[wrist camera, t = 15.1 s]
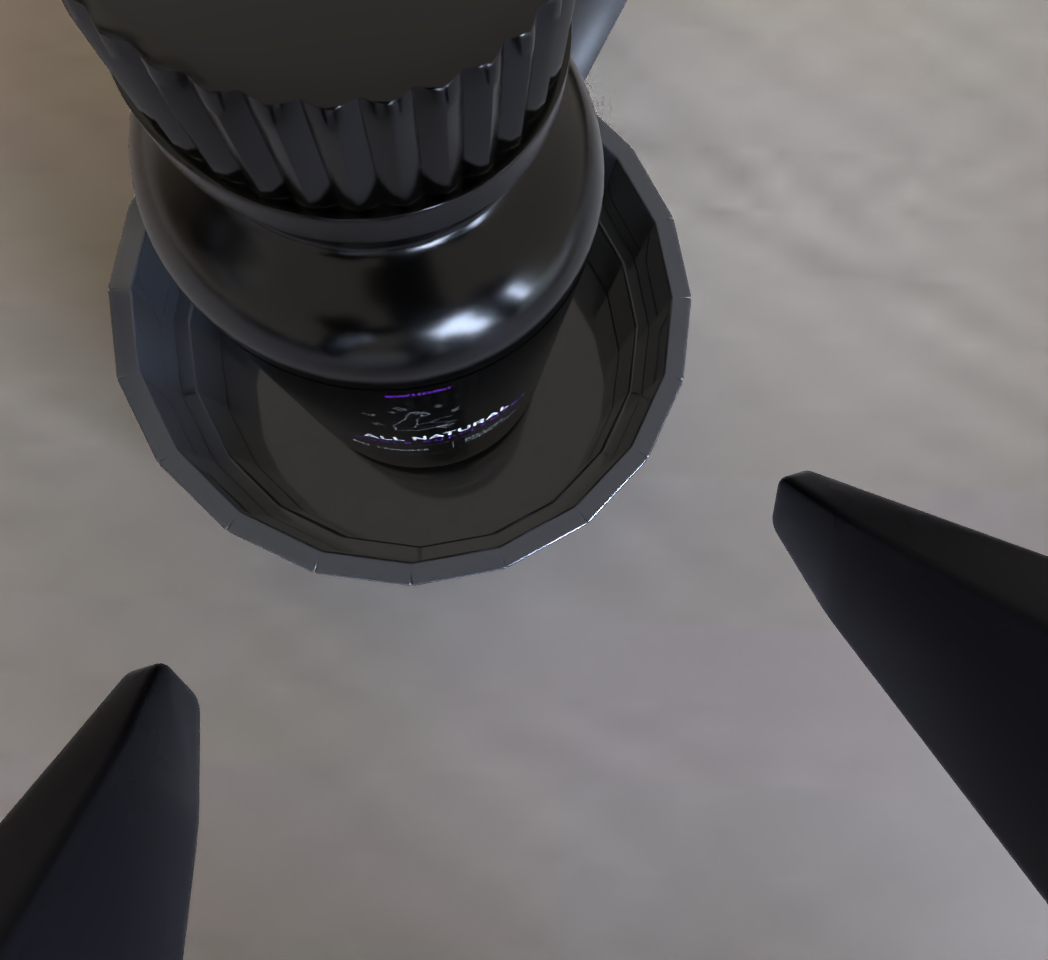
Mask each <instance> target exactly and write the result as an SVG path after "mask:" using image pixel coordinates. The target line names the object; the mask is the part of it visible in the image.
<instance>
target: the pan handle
mask: <svg viewBox="0 0 1048 960" xmlns="http://www.w3.org/2000/svg"><path fill="white" fill-rule="evenodd" d="M626 1H627V0H575V4H574V9H573V14H572V48H571V55H572V57H573V59H574V61H575V63H576V65H577V67H578V69H579V71H580V73H581V75H582V77H583V79H584V80H585V78H586V77H587V75H588V73H589V71H590V69H591V67H592V65H593V63H594V61H595V60H596V58H597V56H598V54H599V52H600V50H601V48H602V46H603V45H604V43H605V41H606V39H607V37H608V35H609V33H610V31H611V30H612V28H613V26H614V24H615V22H616V20H617V18H618V16H619V14H620V13H621V11H622V9H623V7H624V5H625V3H626Z"/></svg>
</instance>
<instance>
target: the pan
mask: <svg viewBox="0 0 1048 960" xmlns="http://www.w3.org/2000/svg"><path fill="white" fill-rule="evenodd" d="M596 116H597V115H596ZM597 120H598V124H599V129H600V135H601V140H602V145H603V156H604V195H603V203H602V210H601V215H600V219H599V223H598V227H597V232H596V235H595V239H594V242H593V245H592V249H591V252H590V254H589V257H588V260H587V263H586V266H585V268H584V271H583V273H582V276H581V278H580V281H579V283H578V286H577V288H576V291H575V293H574V296H573V298H572V301H571V303H570V306H569V308H568V311H567V313H566V316H565V318H564V321H563V323H562V326H561V328H560V331H559V333H558V335H557V338H556V340H555V343H554V345H553V348H552V350H551V353H550V355H549V358H548V360H547V363H546V365H545V368H544V370H543V373H542V375H541V378H540V380H539V382H538V385H537V387H536V389H535V391H534V393H533V395H532V398H531V400H530V402H529V404H528V406H527V407H526V409H525V411H524V412H523V414H522V415H521V417H520V418H519V419H518V421H517V422H516V423H515V424H514V426H513V427H512V428H511V429H510V430H509V431H508V432H507V433H506V434H505V435H504V436H503V437H502V438H501V439H499V440H498V441H497V442H496V443H494V444H493V445H492V446H490V447H489V448H487V449H486V450H484V451H482V452H480V453H479V454H477V455H475V456H472V457H470V458H468V459H465V460H463V461H460V462H457V463H453V464H449V465H445V466H438V467H431V468H411V467H402V466H395V465H391V464H387V463H383V462H380V461H377V460H375V459H372V458H370V457H367V456H365V455H363V454H361V453H359V452H357V451H355V450H354V449H352V448H350V447H349V446H347V445H346V444H344V443H343V442H342V441H340V440H339V439H338V438H336V437H335V436H334V435H333V434H332V433H330V432H329V431H328V430H327V429H326V428H325V427H324V426H322V425H321V424H320V423H319V422H318V421H317V420H316V419H315V418H314V417H313V416H311V415H310V414H309V413H308V412H307V411H306V410H305V409H304V408H303V407H302V406H301V405H299V404H298V403H297V402H296V401H295V400H294V399H293V398H292V397H291V396H290V395H289V394H287V393H286V392H285V391H284V390H283V389H282V388H281V387H280V386H279V385H278V384H277V383H275V382H274V381H273V380H272V379H271V378H270V377H269V376H268V375H267V374H266V373H265V372H263V371H262V370H261V369H260V368H259V367H258V366H257V365H256V364H255V363H254V362H253V361H251V360H250V359H249V358H248V357H247V356H246V355H245V354H244V353H243V352H242V351H241V350H239V349H238V348H237V347H236V346H235V345H234V344H233V343H232V342H231V341H230V340H229V339H228V338H226V337H225V336H224V335H223V334H222V333H221V332H220V331H219V330H218V329H217V328H216V327H214V326H213V325H212V324H211V323H210V322H209V321H208V320H207V319H206V317H205V316H204V315H203V314H202V313H201V312H200V311H199V310H198V309H197V307H196V306H195V305H194V304H193V303H192V302H191V301H190V300H189V299H188V297H187V296H186V295H185V294H184V293H183V292H182V291H181V289H180V288H179V287H178V285H177V284H176V283H175V281H174V280H173V278H172V277H171V276H170V274H169V273H168V272H167V270H166V268H165V267H164V265H163V263H162V261H161V260H160V258H159V256H158V254H157V253H156V251H155V249H154V247H153V245H152V243H151V240H150V238H149V236H148V233H147V231H146V229H145V227H144V224H143V221H142V218H141V215H140V212H139V208H138V205H137V202H136V198H135V196H134V198H133V200H132V201H131V204H130V205H129V208H128V212H127V216H126V220H125V224H124V228H123V232H122V236H121V240H120V244H119V248H118V252H117V256H116V260H115V264H114V268H113V272H112V276H111V279H110V283H109V289H110V290H109V291H108V293H109V302H110V312H111V322H112V332H113V342H114V352H115V362H116V372H117V378H118V382H119V384H120V386H121V388H122V390H123V392H124V394H125V396H126V398H127V400H128V402H129V404H130V407H131V409H132V411H133V413H134V415H135V417H136V419H137V421H138V423H139V425H140V427H141V429H142V431H143V433H144V435H145V438H146V440H147V442H148V444H149V446H150V448H151V450H152V452H153V454H154V456H155V458H156V460H157V462H159V464H160V466H161V467H162V468H163V469H164V470H165V471H166V472H167V473H168V474H169V475H170V476H171V477H172V478H173V479H174V480H175V481H176V482H177V483H179V484H180V485H181V486H182V487H183V488H184V489H185V490H186V491H187V492H188V493H189V494H190V495H191V496H192V497H193V498H194V499H195V500H196V501H197V502H198V503H199V504H200V505H201V506H202V507H203V508H204V509H205V510H206V511H207V512H208V513H209V514H210V515H211V516H212V517H213V518H214V519H215V520H216V521H217V522H218V523H219V524H220V525H221V526H222V527H223V528H224V529H226V530H228V531H229V532H230V533H232V534H234V535H236V536H238V537H240V538H242V539H244V540H246V541H249V542H251V543H253V544H255V545H257V546H259V547H261V548H263V549H265V550H267V551H269V552H271V553H273V554H275V555H278V556H280V557H282V558H284V559H286V560H288V561H290V562H292V563H294V564H296V565H298V566H300V567H302V568H304V569H307V570H309V571H311V572H316V573H317V574H323V575H331V576H339V577H346V578H354V579H362V580H369V581H377V582H384V583H392V584H400V585H407V586H409V585H414V586H415V585H420V584H425V583H431V582H436V581H442V580H447V579H452V578H458V577H463V576H468V575H474V574H479V573H485V572H490V571H495V570H501V569H504V568H505V567H510V566H512V565H513V564H515V563H517V562H519V561H521V560H523V559H524V558H526V557H528V556H530V555H532V554H534V553H535V552H537V551H539V550H541V549H543V548H545V547H546V546H548V545H550V544H552V543H554V542H556V541H557V540H559V539H561V538H563V537H565V536H566V535H568V534H570V533H572V532H574V531H576V530H577V529H579V528H581V527H583V526H585V525H586V523H588V522H590V521H591V520H592V519H593V518H594V517H595V515H596V514H597V513H598V512H599V511H600V510H601V509H602V508H603V507H604V506H605V505H606V504H607V503H608V502H609V500H610V499H611V498H612V497H613V496H614V495H615V494H616V493H617V492H618V491H619V490H620V489H621V488H622V486H623V485H624V484H625V483H626V482H627V481H628V480H629V479H630V478H631V477H632V476H633V475H634V474H635V472H636V471H637V470H638V469H639V468H640V467H641V466H642V465H643V464H644V463H645V462H646V460H647V458H648V457H649V456H650V454H651V452H652V449H653V447H654V445H655V443H656V440H657V438H658V436H659V434H660V432H661V429H662V427H663V425H664V423H665V420H666V418H667V416H668V414H669V412H670V409H671V407H672V405H673V403H674V401H675V398H676V396H677V394H678V392H679V389H680V387H681V385H682V380H683V379H684V368H685V358H686V348H687V338H688V327H689V317H690V307H691V299H690V298H691V294H690V290H689V285H688V281H687V276H686V272H685V268H684V263H683V259H682V254H681V250H680V245H679V241H678V237H677V232H676V228H675V223H674V220H673V219H672V215H671V214H670V212H669V210H668V208H667V207H666V205H665V203H664V202H663V200H662V198H661V196H660V195H659V193H658V191H657V190H656V188H655V186H654V184H653V183H652V181H651V179H650V178H649V176H648V174H647V173H646V171H645V169H644V167H643V166H642V164H641V162H640V161H639V159H638V157H637V155H636V154H635V152H634V150H633V149H631V147H630V145H629V144H627V143H626V142H625V141H624V140H623V139H622V138H621V137H620V136H619V135H618V134H617V133H616V132H614V131H613V130H612V129H611V128H610V127H609V126H608V125H607V124H606V123H605V122H604V121H603V120H602V119H600V118H599V117H598V116H597Z"/></svg>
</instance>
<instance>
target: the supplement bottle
mask: <svg viewBox="0 0 1048 960" xmlns="http://www.w3.org/2000/svg"><path fill="white" fill-rule="evenodd" d="M62 2H63V4H64V6H65V8H66V9H67V11H68V13H69V15H70V16H71V18H72V19H73V21H74V22H75V24H76V25H77V26H78V28H79V29H80V31H81V32H82V33H83V35H84V36H85V38H86V39H87V40H88V42H89V43H90V44H91V46H92V47H93V49H94V50H95V51H96V53H97V54H98V55H99V57H100V58H101V59H102V61H103V62H104V64H105V65H106V66H107V68H108V69H109V70H110V72H111V74H112V77H113V79H114V81H115V83H116V85H117V87H118V89H119V91H120V93H121V95H122V97H123V98H124V100H125V101H126V103H127V105H128V106H129V108H130V109H131V112H130V123H129V158H130V170H131V177H132V183H133V188H134V193H135V198H136V202H137V205H138V208H139V212H140V215H141V218H142V221H143V224H144V227H145V229H146V231H147V233H148V236H149V238H150V240H151V243H152V245H153V247H154V249H155V251H156V253H157V254H158V256H159V258H160V260H161V261H162V263H163V265H164V267H165V268H166V270H167V272H168V273H169V274H170V276H171V277H172V278H173V280H174V281H175V283H176V284H177V285H178V287H179V288H180V289H181V291H182V292H183V293H184V294H185V295H186V296H187V297H188V299H189V300H190V301H191V302H192V303H193V304H194V305H195V306H196V307H197V309H198V310H199V311H200V312H201V313H202V314H203V315H204V316H205V317H206V319H207V320H208V321H209V322H210V323H211V324H212V325H213V326H214V327H216V328H217V329H218V330H219V331H220V332H221V333H222V334H223V335H224V336H225V337H226V338H228V339H229V340H230V341H231V342H232V343H233V344H234V345H235V346H236V347H237V348H238V349H239V350H241V351H242V352H243V353H244V354H245V355H246V356H247V357H248V358H249V359H250V360H251V361H253V362H254V363H255V364H256V365H257V366H258V367H259V368H260V369H261V370H262V371H263V372H265V373H266V374H267V375H268V376H269V377H270V378H271V379H272V380H273V381H274V382H275V383H277V384H278V385H279V386H280V387H281V388H282V389H283V390H284V391H285V392H286V393H287V394H289V395H290V396H291V397H292V398H293V399H294V400H295V401H296V402H297V403H298V404H299V405H301V406H302V407H303V408H304V409H305V410H306V411H307V412H308V413H309V414H310V415H311V416H313V417H314V418H315V419H316V420H317V421H318V422H319V423H320V424H321V425H322V426H324V427H325V428H326V429H327V430H328V431H329V432H330V433H332V434H333V435H334V436H335V437H336V438H338V439H339V440H340V441H342V442H343V443H344V444H346V445H347V446H349V447H350V448H352V449H354V450H355V451H357V452H359V453H361V454H363V455H365V456H367V457H370V458H372V459H375V460H377V461H380V462H383V463H387V464H391V465H395V466H402V467H411V468H431V467H438V466H445V465H449V464H453V463H457V462H460V461H463V460H465V459H468V458H470V457H472V456H475V455H477V454H479V453H480V452H482V451H484V450H486V449H487V448H489V447H490V446H492V445H493V444H494V443H496V442H497V441H498V440H499V439H501V438H502V437H503V436H504V435H505V434H506V433H507V432H508V431H509V430H510V429H511V428H512V427H513V426H514V424H515V423H516V422H517V421H518V419H519V418H520V417H521V415H522V414H523V412H524V411H525V409H526V407H527V406H528V404H529V402H530V400H531V398H532V395H533V393H534V391H535V389H536V387H537V385H538V382H539V380H540V378H541V375H542V373H543V370H544V368H545V365H546V363H547V360H548V358H549V355H550V353H551V350H552V348H553V345H554V343H555V340H556V338H557V335H558V333H559V331H560V328H561V326H562V323H563V321H564V318H565V316H566V313H567V311H568V308H569V306H570V303H571V301H572V298H573V296H574V293H575V291H576V288H577V286H578V283H579V281H580V278H581V276H582V273H583V271H584V268H585V266H586V263H587V260H588V257H589V254H590V252H591V249H592V245H593V242H594V239H595V235H596V232H597V227H598V223H599V219H600V215H601V210H602V203H603V195H604V156H603V145H602V140H601V135H600V129H599V124H598V120H597V116H596V113H595V110H594V106H593V103H592V100H591V97H590V94H589V92H588V89H587V87H586V84H585V82H584V79H583V77H582V75H581V73H580V71H579V69H578V67H577V65H576V63H575V61H574V59H573V57H572V55H571V48H572V14H573V9H574V4H575V0H62Z"/></svg>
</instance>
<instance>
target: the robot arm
mask: <svg viewBox="0 0 1048 960" xmlns="http://www.w3.org/2000/svg"><path fill="white" fill-rule="evenodd" d="M773 525H774V528H775V531H776V533H777V534H778V536H779V538H780V539H781V541H782V543H783V544H784V546H785V548H786V549H787V551H788V552H789V554H790V556H791V557H792V559H793V561H794V562H795V564H796V566H797V567H798V569H799V571H800V572H801V574H802V575H803V577H804V579H805V580H806V582H807V584H808V585H809V587H810V589H811V590H812V592H813V594H814V595H815V597H816V598H817V600H818V602H819V603H820V605H821V606H822V608H823V609H824V611H825V612H826V614H827V615H828V617H829V618H830V619H831V621H832V622H833V624H834V625H835V626H836V628H837V629H838V630H839V632H840V633H841V634H842V636H843V637H844V638H845V639H846V641H847V642H848V643H849V645H850V646H851V647H852V649H853V650H854V651H855V653H856V654H857V655H858V656H859V658H860V659H861V660H862V662H863V663H864V664H865V666H866V667H867V668H868V670H869V671H870V672H871V673H872V675H873V676H874V677H875V679H876V680H877V681H878V683H879V684H880V685H881V687H882V688H883V689H884V690H885V692H886V693H887V694H888V696H889V697H890V698H891V700H892V701H893V702H894V704H895V705H896V706H897V707H898V709H899V710H900V711H901V713H902V714H903V715H904V717H905V718H906V719H907V721H908V722H909V723H910V724H911V726H912V727H913V728H914V730H915V731H916V732H917V734H918V735H919V736H920V738H921V739H922V740H923V741H924V743H925V744H926V745H927V747H928V748H929V749H930V751H931V752H932V753H933V755H934V756H935V757H936V758H937V760H938V761H939V762H940V764H941V765H942V766H943V768H944V769H945V770H946V772H947V773H948V774H949V775H950V777H951V778H952V779H953V781H954V782H955V783H956V785H957V786H958V787H959V789H960V790H961V791H962V792H963V794H964V795H965V796H966V798H967V799H968V800H969V802H970V803H971V804H972V806H973V807H974V808H975V809H976V811H977V812H978V813H979V815H980V816H981V817H982V819H983V820H984V821H985V823H986V824H987V825H988V826H989V828H990V829H991V830H992V832H993V833H994V834H995V836H996V837H997V838H998V840H999V841H1000V842H1001V843H1002V845H1003V846H1004V847H1005V849H1006V850H1007V851H1008V853H1009V854H1010V855H1011V857H1012V858H1013V859H1014V860H1015V862H1016V863H1017V864H1018V866H1019V867H1020V868H1021V870H1022V871H1023V872H1024V874H1025V875H1026V876H1027V877H1028V879H1029V880H1030V881H1031V883H1032V884H1033V885H1034V887H1035V888H1036V889H1037V891H1038V892H1039V893H1040V894H1041V896H1042V897H1043V898H1044V900H1045V901H1046V902H1047V904H1048V556H1045V555H1042V554H1039V553H1037V552H1034V551H1031V550H1028V549H1026V548H1023V547H1020V546H1017V545H1014V544H1012V543H1009V542H1006V541H1003V540H1001V539H998V538H995V537H992V536H989V535H987V534H984V533H981V532H978V531H976V530H973V529H970V528H967V527H964V526H962V525H959V524H956V523H953V522H950V521H948V520H945V519H942V518H939V517H937V516H934V515H931V514H928V513H925V512H923V511H920V510H917V509H914V508H912V507H909V506H906V505H903V504H900V503H898V502H895V501H892V500H889V499H887V498H884V497H881V496H878V495H875V494H873V493H870V492H867V491H864V490H862V489H859V488H856V487H853V486H850V485H848V484H845V483H842V482H839V481H836V480H834V479H831V478H828V477H825V476H823V475H820V474H817V473H814V472H811V471H803V472H799V473H796V474H793V475H789V476H786V477H784V478H782V479H781V481H780V482H779V484H778V488H777V494H776V500H775V505H774V511H773ZM199 772H200V708H199V703H198V700H197V698H196V696H195V694H194V693H193V692H192V691H191V690H190V689H189V687H188V686H187V685H186V684H185V683H184V682H183V681H182V680H181V679H180V678H179V677H178V676H177V675H176V674H175V672H174V671H173V670H172V669H171V668H170V667H169V666H167V665H165V664H162V663H160V664H154V665H151V666H147V667H144V668H141V669H137V670H134V671H132V672H130V673H128V674H127V675H126V676H125V677H124V678H123V679H122V680H121V681H120V682H119V683H118V684H117V686H116V687H115V688H114V689H113V690H112V691H111V693H110V694H109V695H108V696H107V697H106V699H105V700H104V701H103V702H102V703H101V704H100V706H99V707H98V708H97V709H96V710H95V712H94V713H93V714H92V715H91V716H90V718H89V719H88V720H87V721H86V722H85V723H84V725H83V726H82V727H81V728H80V729H79V731H78V732H77V733H76V734H75V735H74V736H73V738H72V739H71V740H70V741H69V742H68V744H67V745H66V746H65V747H64V748H63V749H62V751H61V752H60V753H59V754H58V755H57V757H56V758H55V759H54V760H53V761H52V762H51V764H50V765H49V766H48V767H47V768H46V770H45V771H44V772H43V773H42V774H41V775H40V777H39V778H38V779H37V780H36V781H35V783H34V784H33V785H32V786H31V787H30V788H29V790H28V791H27V792H26V793H25V794H24V796H23V797H22V798H21V799H20V800H19V801H18V803H17V804H16V805H15V806H14V807H13V809H12V810H11V811H10V812H9V813H8V814H7V816H6V817H5V818H4V819H3V820H2V822H1V823H0V960H183V954H184V945H185V937H186V929H187V920H188V912H189V903H190V895H191V887H192V878H193V870H194V861H195V853H196V845H197V834H198V824H199Z"/></svg>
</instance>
